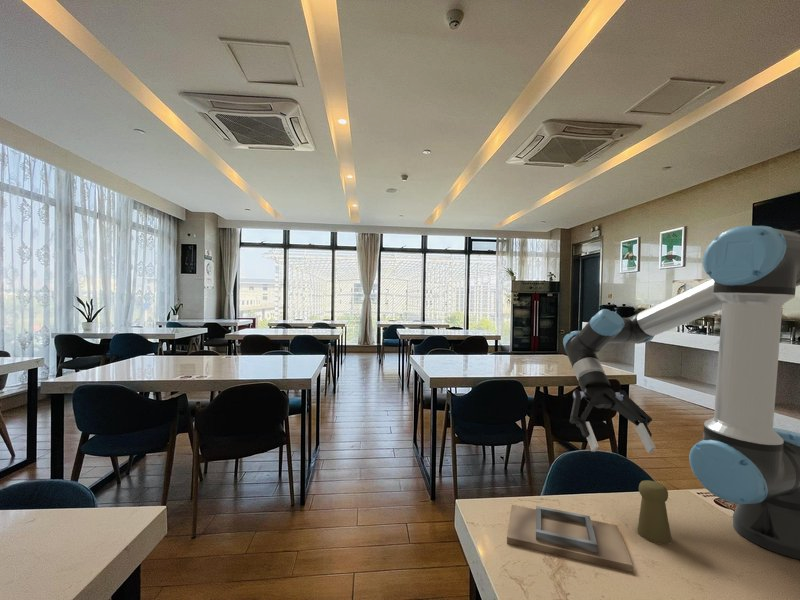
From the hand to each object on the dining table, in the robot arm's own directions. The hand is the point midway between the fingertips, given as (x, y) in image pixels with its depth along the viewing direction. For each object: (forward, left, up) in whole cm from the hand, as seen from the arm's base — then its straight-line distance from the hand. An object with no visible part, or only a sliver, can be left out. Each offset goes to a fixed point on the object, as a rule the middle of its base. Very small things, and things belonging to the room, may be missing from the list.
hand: (623, 449), depth 88 cm
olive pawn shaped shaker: (-4, +10, -15) cm, 18 cm away
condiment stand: (+14, +18, -14) cm, 27 cm away
